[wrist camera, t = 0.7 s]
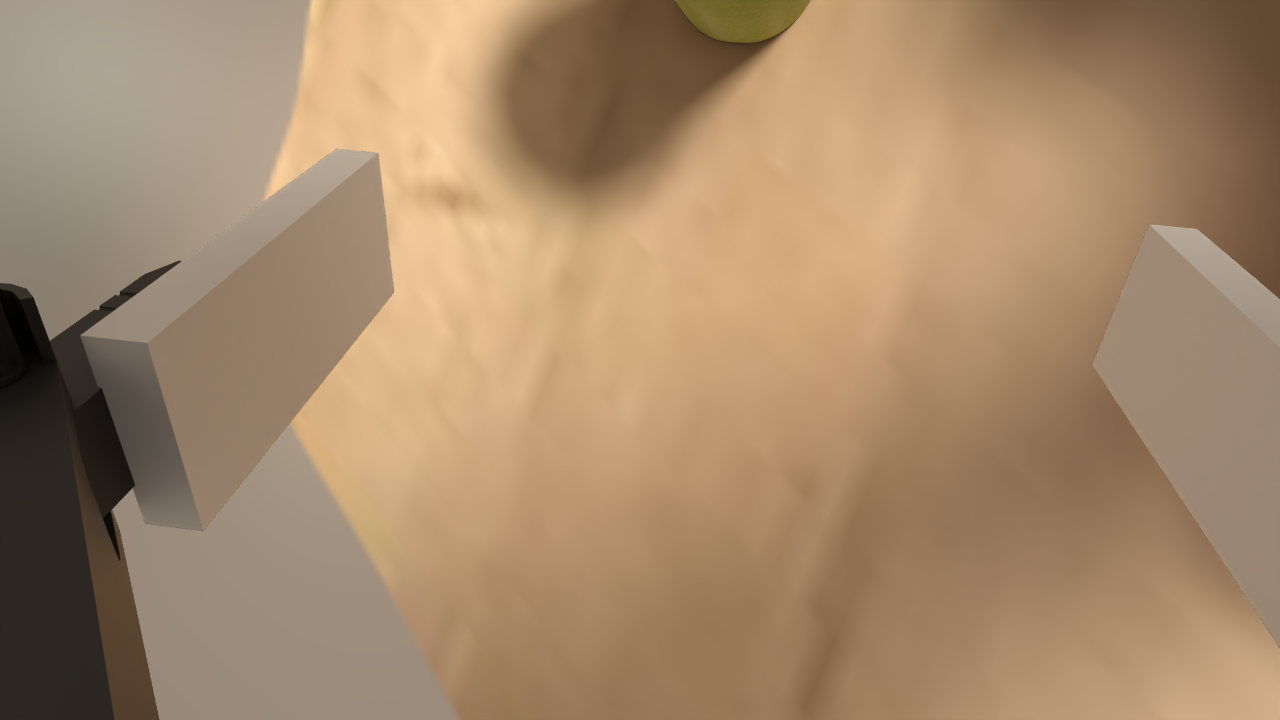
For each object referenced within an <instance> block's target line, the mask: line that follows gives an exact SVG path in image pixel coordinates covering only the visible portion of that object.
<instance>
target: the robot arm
mask: <svg viewBox="0 0 1280 720" xmlns="http://www.w3.org/2000/svg"><path fill="white" fill-rule="evenodd" d="M393 293H394V287H393V278H392V269H391V260H390V251H389V242H388V233H387V224H386V215H385V206H384V197H383V188H382V180H381V171H380V162H379V153H376V152H365V151H355V150H344V149H335V150H334V151H333V152H331V153H330V154H328V155H327V156H326V157H324V158H323V159H322V160H320V161H319V162H317V163H316V164H315V165H313V166H312V167H311V168H309V169H308V170H306V171H305V172H304V173H302V174H301V175H300V176H298V177H297V178H296V179H294V180H293V181H291V182H290V183H289V184H287V185H286V186H285V187H283V188H282V189H280V190H279V191H278V192H276V193H275V194H274V195H272V196H271V197H269V198H268V199H267V200H265V201H264V202H263V203H261V204H260V205H258V206H257V207H256V208H254V209H253V210H252V211H250V212H249V213H248V214H246V215H245V216H243V217H242V218H241V219H239V220H238V221H236V222H235V223H234V224H233V225H231V226H230V227H229V228H227V229H226V230H224V231H223V232H221V233H220V234H219V235H217V236H216V237H215V238H213V239H212V240H210V241H209V242H208V243H206V244H205V245H204V246H202V247H201V248H199V249H198V250H197V251H195V252H194V253H193V254H191V255H190V256H188V257H187V258H186V259H184V260H183V261H177V262H174V263H172V264H170V265H167V266H164V267H162V268H160V269H157V270H154V271H152V272H149V273H147V274H144V275H143V276H142V277H140V278H139V279H137V280H136V281H134V282H133V283H132V284H130V285H129V286H127V287H126V288H124V289H123V290H122V291H120V295H119V296H118V295H114V296H113V297H112V298H110V299H109V300H107V301H106V302H105V303H103V304H102V305H100V309H99V310H93V311H92V312H90V313H89V314H88V315H86V316H85V317H83V318H82V319H80V320H79V321H78V322H76V323H75V324H73V325H72V326H70V327H69V328H68V329H66V330H65V331H63V332H62V333H61V334H59V335H58V336H56V337H55V338H53V339H52V340H51V341H49V338H48V336H47V333H46V330H45V328H44V325H43V322H42V319H41V317H40V314H39V311H38V309H37V306H36V303H35V300H34V298H33V296H32V295H31V294H30V293H29V291H28V290H27V289H25V288H22V287H19V286H16V285H12V284H4V283H0V720H159V716H158V711H157V706H156V702H155V697H154V692H153V687H152V683H151V678H150V673H149V669H148V664H147V659H146V654H145V649H144V644H143V639H142V635H141V630H140V626H139V620H138V615H137V611H136V606H135V602H134V596H133V592H132V587H131V582H130V577H129V572H128V568H127V563H126V558H125V553H124V549H123V544H122V539H121V534H120V530H119V527H118V525H117V522H116V519H115V516H114V514H113V511H112V509H113V508H114V506H116V505H117V503H118V502H119V501H120V500H121V499H122V498H123V497H124V496H125V495H126V494H127V493H128V492H129V491H130V490H131V489H132V488H133V490H134V493H135V495H136V498H137V501H138V504H139V507H140V510H141V513H142V516H143V518H144V521H145V524H151V525H159V526H167V527H175V528H183V529H191V530H199V531H204V530H205V529H206V527H207V526H208V525H209V524H210V522H211V521H212V520H213V518H214V517H215V516H216V515H217V514H218V512H219V511H220V509H222V507H223V506H224V505H225V503H226V502H227V501H228V500H229V498H230V497H231V496H232V495H233V493H234V492H235V491H236V490H237V489H238V487H239V486H240V485H241V483H242V482H243V481H244V480H245V478H246V477H247V476H248V475H249V473H250V472H251V471H252V470H253V468H254V467H255V466H256V465H257V463H258V462H259V461H260V460H261V458H262V457H263V456H264V455H265V453H266V452H267V451H268V450H269V448H270V447H271V446H272V445H273V443H274V442H275V441H276V440H277V438H278V437H279V436H280V435H281V433H282V432H283V431H284V429H285V428H286V427H287V426H288V425H289V423H290V422H291V421H292V420H293V418H294V417H295V416H296V415H297V413H298V412H299V411H300V410H301V408H302V407H303V406H304V405H305V403H306V402H307V401H308V400H309V398H310V397H311V396H312V395H313V393H314V392H315V391H316V390H317V388H318V387H319V386H320V385H321V383H322V382H323V381H324V380H325V378H326V377H327V376H328V375H329V373H330V372H331V371H332V370H333V368H334V367H335V366H336V365H337V363H338V362H339V361H340V360H341V358H342V357H343V356H344V355H345V353H346V352H347V351H348V350H349V348H350V347H351V346H352V345H353V343H354V342H355V341H356V340H357V338H358V337H359V336H360V335H361V333H362V332H363V331H364V329H365V328H366V327H367V326H368V324H369V323H370V322H371V321H372V319H373V318H374V317H375V316H376V314H377V313H378V312H379V311H380V309H381V308H382V307H383V306H384V304H385V303H386V302H387V301H388V299H389V298H390V297H391V296H392V294H393ZM1092 366H1093V367H1094V369H1095V370H1096V372H1097V373H1098V375H1099V376H1100V378H1101V379H1102V381H1103V382H1104V384H1105V385H1106V387H1107V388H1108V390H1109V391H1110V393H1111V394H1112V396H1113V397H1114V399H1115V400H1116V402H1117V403H1118V405H1119V406H1120V408H1121V409H1122V411H1123V412H1124V414H1125V416H1126V417H1127V419H1128V420H1129V422H1130V423H1131V425H1132V426H1133V428H1134V429H1135V431H1136V432H1137V434H1138V435H1139V437H1140V438H1141V440H1142V441H1143V443H1144V444H1145V446H1146V447H1147V449H1148V450H1149V452H1150V453H1151V455H1152V456H1153V458H1154V459H1155V461H1156V462H1157V464H1158V465H1159V467H1160V468H1161V470H1162V471H1163V473H1164V474H1165V476H1166V477H1167V479H1168V480H1169V482H1170V483H1171V485H1172V486H1173V488H1174V489H1175V491H1176V492H1177V494H1178V495H1179V497H1180V498H1181V500H1182V501H1183V503H1184V504H1185V506H1186V507H1187V509H1188V510H1189V512H1190V513H1191V515H1192V516H1193V518H1194V519H1195V521H1196V523H1197V524H1198V526H1199V527H1200V529H1201V530H1202V532H1203V533H1204V535H1205V536H1206V538H1207V539H1208V541H1209V542H1210V544H1211V545H1212V547H1213V548H1214V550H1215V551H1216V553H1217V554H1218V556H1219V557H1220V559H1221V560H1222V562H1223V563H1224V565H1225V566H1226V568H1227V569H1228V571H1229V572H1230V574H1231V575H1232V577H1233V578H1234V580H1235V581H1236V583H1237V584H1238V586H1239V587H1240V589H1241V590H1242V592H1243V593H1244V595H1245V596H1246V598H1247V599H1248V601H1249V602H1250V604H1251V605H1252V607H1253V608H1254V610H1255V611H1256V613H1257V614H1258V616H1259V617H1260V619H1261V620H1262V622H1263V623H1264V625H1265V626H1266V628H1267V630H1268V631H1269V633H1270V634H1271V636H1272V637H1273V639H1274V640H1275V642H1276V643H1277V645H1278V646H1279V648H1280V299H1279V298H1278V297H1277V296H1276V295H1274V294H1273V293H1272V292H1271V291H1270V290H1268V289H1267V288H1266V287H1265V286H1264V285H1263V284H1261V283H1260V282H1259V281H1258V280H1257V279H1256V278H1254V277H1253V276H1252V275H1251V274H1250V273H1248V272H1247V271H1246V270H1245V269H1244V268H1243V267H1241V266H1240V265H1239V264H1238V263H1237V262H1236V261H1234V260H1233V259H1232V258H1231V257H1230V256H1228V255H1227V254H1226V253H1225V252H1224V251H1223V250H1221V249H1220V248H1219V247H1218V246H1217V245H1216V244H1214V243H1213V242H1212V241H1211V240H1210V239H1208V238H1207V237H1206V236H1205V235H1204V234H1203V233H1201V232H1200V231H1199V230H1198V229H1193V228H1182V227H1172V226H1161V225H1150V224H1149V226H1148V229H1147V231H1146V234H1145V236H1144V238H1143V241H1142V243H1141V246H1140V248H1139V251H1138V253H1137V256H1136V258H1135V261H1134V263H1133V265H1132V268H1131V270H1130V273H1129V275H1128V278H1127V280H1126V283H1125V285H1124V288H1123V290H1122V292H1121V295H1120V297H1119V300H1118V302H1117V305H1116V307H1115V310H1114V312H1113V315H1112V317H1111V319H1110V322H1109V324H1108V327H1107V329H1106V332H1105V334H1104V337H1103V339H1102V342H1101V344H1100V346H1099V349H1098V351H1097V354H1096V356H1095V359H1094V361H1093V364H1092Z"/></svg>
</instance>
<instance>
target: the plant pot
mask: <svg viewBox="0 0 1280 720" xmlns="http://www.w3.org/2000/svg"><path fill="white" fill-rule="evenodd" d="M674 1H675V2H676V3H677V4H678V6H679V7H680V9H681V10H682V12H683V13H684V14H685V15H686V17H687V18H688V19H689V21H690V22H691V23H692V24H693V25H694V26H695V27H696V28H697V29H699V30H700V31H701V32H703V33H704V34H706V35H707V36H709V37H711V38H713V39H716V40H719V41H727V42H739V43H754V42H759V41H763V40H766V39H768V38H771V37H773V36H775V35H777V34H779V33H780V32H782V31H783V30H785V29H786V28H788V27H789V26H790V25H791V24H792V23H793V22H794V21H795V20H796V19H797V18H798V17H799V16H800V15H801V13H802V12H803V11H804V10H805V8H806V7H807V5H808V3H809V2H810V0H674Z"/></svg>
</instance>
